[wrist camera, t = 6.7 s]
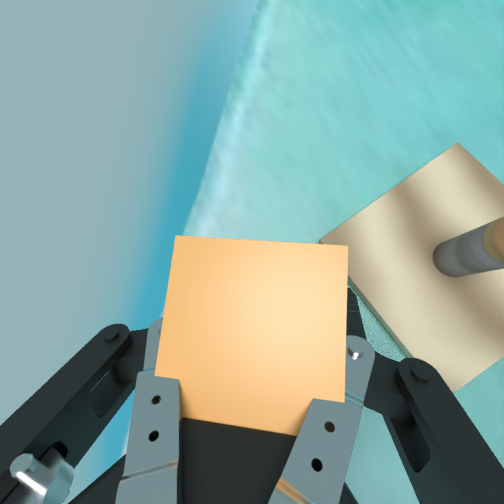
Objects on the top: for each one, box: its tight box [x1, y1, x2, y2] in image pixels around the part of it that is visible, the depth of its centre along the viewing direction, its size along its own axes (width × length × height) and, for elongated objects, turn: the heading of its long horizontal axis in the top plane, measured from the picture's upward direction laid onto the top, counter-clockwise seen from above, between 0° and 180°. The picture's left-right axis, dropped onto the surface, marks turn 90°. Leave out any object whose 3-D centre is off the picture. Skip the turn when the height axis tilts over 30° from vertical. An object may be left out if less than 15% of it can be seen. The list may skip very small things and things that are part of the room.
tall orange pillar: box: [154, 236, 348, 436], centre depth 13 cm, size 5×5×10 cm
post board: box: [318, 142, 504, 393], centre depth 17 cm, size 13×13×8 cm
